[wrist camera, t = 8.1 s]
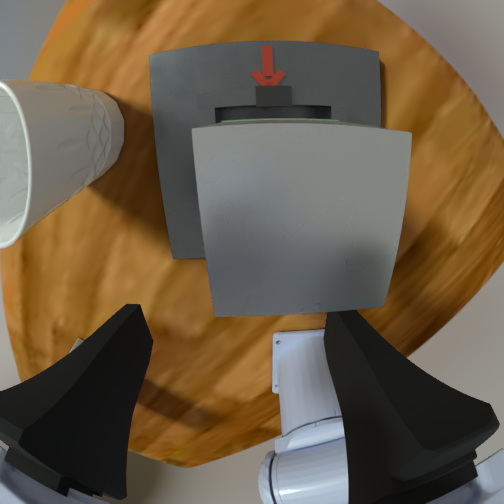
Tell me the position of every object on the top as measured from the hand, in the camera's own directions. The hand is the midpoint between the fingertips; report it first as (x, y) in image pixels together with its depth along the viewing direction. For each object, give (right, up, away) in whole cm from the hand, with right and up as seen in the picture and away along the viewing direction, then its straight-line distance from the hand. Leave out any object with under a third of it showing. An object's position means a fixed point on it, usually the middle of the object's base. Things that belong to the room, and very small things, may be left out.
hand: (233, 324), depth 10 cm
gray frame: (+2, +9, +6) cm, 11 cm away
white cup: (-11, +11, +6) cm, 17 cm away
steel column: (+2, +6, +1) cm, 7 cm away
